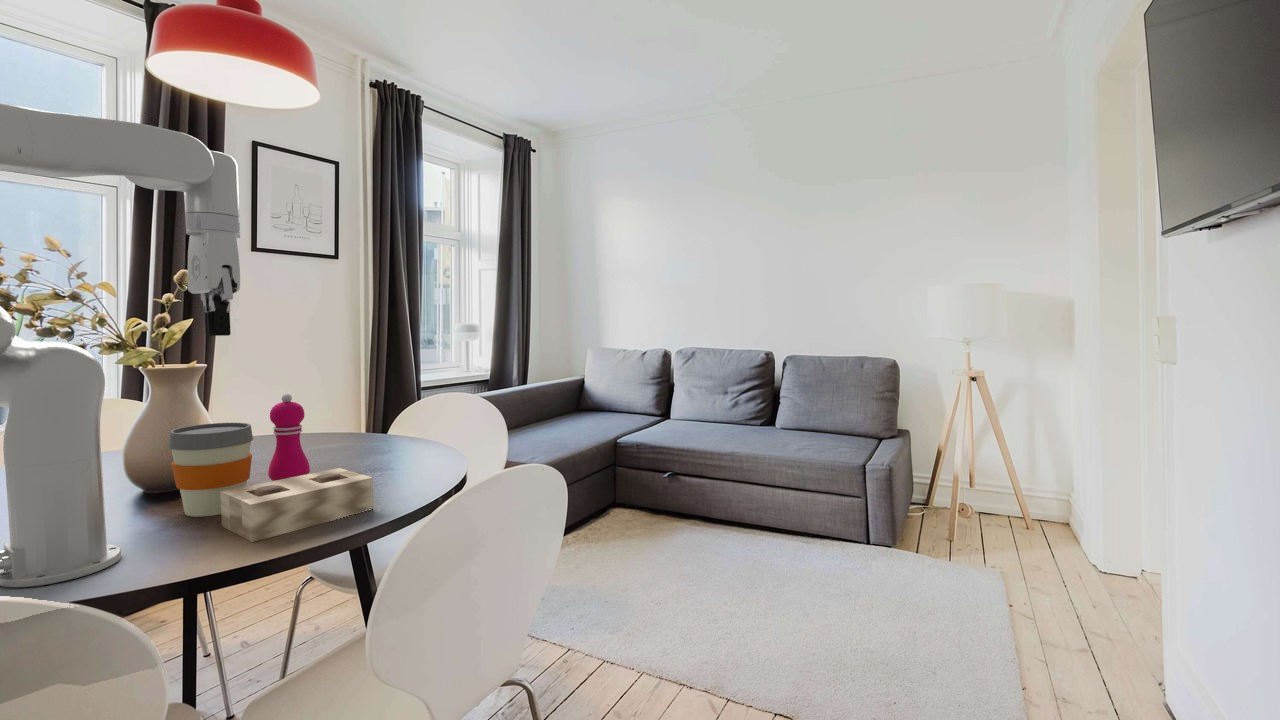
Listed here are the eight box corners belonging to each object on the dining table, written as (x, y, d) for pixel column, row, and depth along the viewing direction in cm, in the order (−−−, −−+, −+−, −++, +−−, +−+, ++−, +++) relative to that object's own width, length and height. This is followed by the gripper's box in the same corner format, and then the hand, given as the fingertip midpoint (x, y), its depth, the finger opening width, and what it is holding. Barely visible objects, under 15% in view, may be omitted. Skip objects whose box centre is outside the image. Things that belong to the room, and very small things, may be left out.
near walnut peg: (262, 529, 98) (260, 493, 98) (251, 524, 100) (250, 489, 100) (287, 522, 101) (286, 487, 101) (277, 517, 104) (276, 483, 103)
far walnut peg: (323, 513, 106) (322, 480, 106) (313, 509, 108) (311, 476, 108) (346, 507, 109) (345, 475, 109) (335, 503, 112) (334, 472, 111)
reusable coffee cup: (271, 500, 115) (268, 423, 114) (216, 521, 103) (212, 435, 102) (214, 497, 117) (211, 421, 116) (153, 517, 105) (148, 433, 104)
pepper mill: (291, 498, 116) (288, 396, 115) (260, 496, 118) (256, 395, 116) (318, 488, 123) (315, 392, 122) (288, 486, 125) (285, 391, 123)
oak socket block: (252, 542, 93) (250, 504, 93) (221, 526, 100) (220, 491, 100) (373, 509, 109) (372, 477, 109) (340, 498, 116) (339, 467, 116)
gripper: (171, 228, 102) (176, 335, 104) (203, 219, 94) (209, 336, 95) (221, 233, 108) (226, 334, 110) (256, 226, 100) (261, 335, 101)
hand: (218, 335), depth 102 cm, fingers closed
